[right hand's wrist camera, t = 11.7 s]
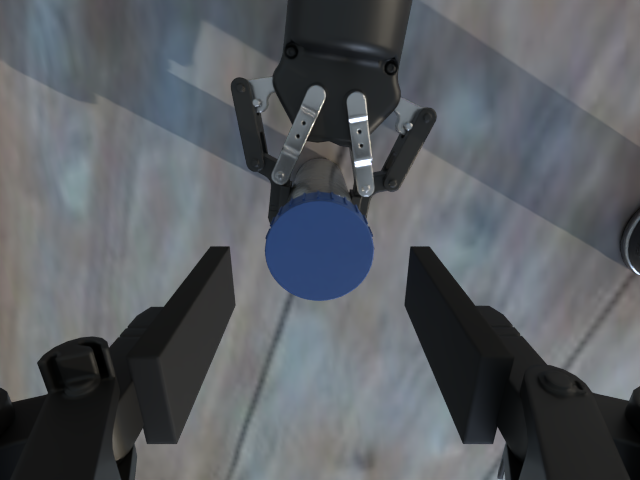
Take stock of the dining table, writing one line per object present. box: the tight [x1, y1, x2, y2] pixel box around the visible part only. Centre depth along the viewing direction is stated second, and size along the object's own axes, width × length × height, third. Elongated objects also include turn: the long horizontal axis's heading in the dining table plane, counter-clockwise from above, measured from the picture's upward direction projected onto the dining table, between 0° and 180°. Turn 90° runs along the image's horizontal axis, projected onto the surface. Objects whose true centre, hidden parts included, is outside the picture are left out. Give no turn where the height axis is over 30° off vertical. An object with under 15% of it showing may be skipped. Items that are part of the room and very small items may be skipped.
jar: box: [287, 158, 352, 203], centre depth 25 cm, size 4×4×16 cm
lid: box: [265, 191, 374, 301], centre depth 17 cm, size 5×5×2 cm
